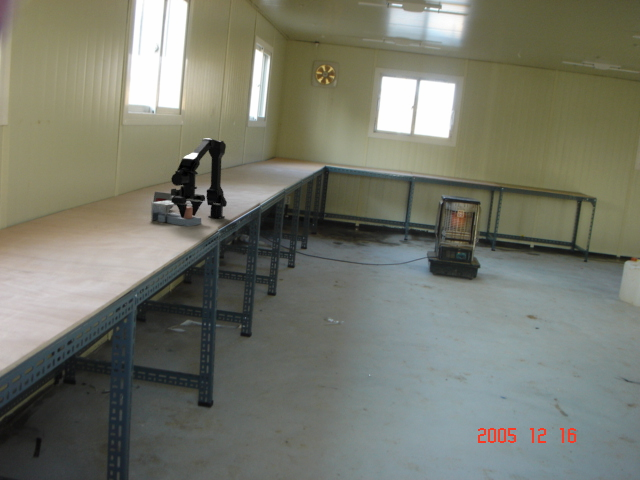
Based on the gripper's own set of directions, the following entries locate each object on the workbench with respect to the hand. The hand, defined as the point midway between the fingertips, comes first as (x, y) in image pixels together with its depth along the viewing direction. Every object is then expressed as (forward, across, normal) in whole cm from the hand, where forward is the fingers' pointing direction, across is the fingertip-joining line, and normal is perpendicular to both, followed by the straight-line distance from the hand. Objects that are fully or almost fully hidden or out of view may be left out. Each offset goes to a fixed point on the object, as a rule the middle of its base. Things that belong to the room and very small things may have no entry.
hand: (188, 216), depth 280 cm
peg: (+4, 0, 0) cm, 4 cm away
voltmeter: (+4, -26, -28) cm, 39 cm away
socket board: (+4, 0, -5) cm, 6 cm away
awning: (+4, 0, -13) cm, 13 cm away
